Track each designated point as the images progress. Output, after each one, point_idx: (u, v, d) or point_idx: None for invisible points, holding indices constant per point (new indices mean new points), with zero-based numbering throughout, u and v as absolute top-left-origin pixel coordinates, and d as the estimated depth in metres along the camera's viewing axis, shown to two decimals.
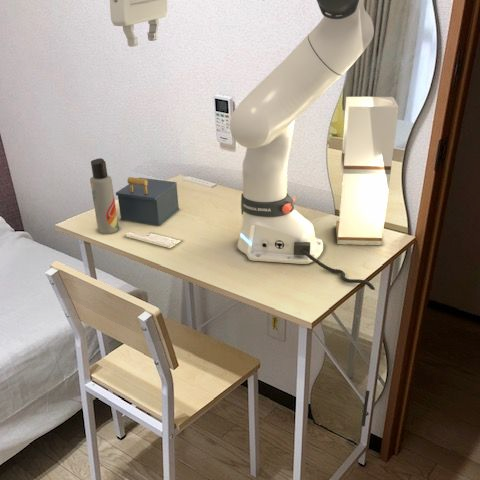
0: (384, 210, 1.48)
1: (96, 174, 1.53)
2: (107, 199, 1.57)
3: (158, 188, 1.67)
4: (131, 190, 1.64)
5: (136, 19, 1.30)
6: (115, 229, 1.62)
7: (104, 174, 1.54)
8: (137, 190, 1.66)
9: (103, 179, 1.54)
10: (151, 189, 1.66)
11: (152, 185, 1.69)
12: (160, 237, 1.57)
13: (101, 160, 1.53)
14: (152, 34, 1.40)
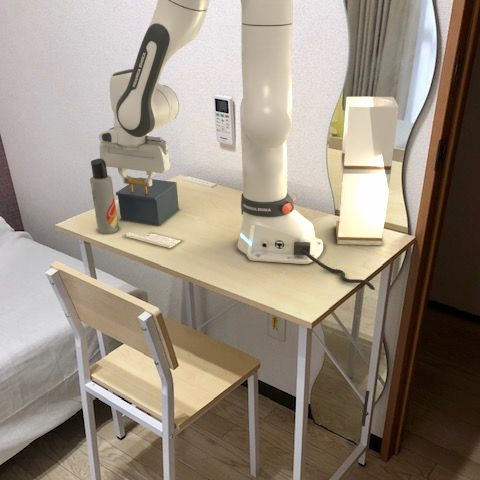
0: (384, 210, 1.47)
1: (96, 174, 1.53)
2: (107, 199, 1.57)
3: (158, 188, 1.67)
4: (131, 190, 1.64)
5: None
6: (115, 229, 1.62)
7: (104, 174, 1.54)
8: (137, 190, 1.66)
9: (103, 179, 1.54)
10: (151, 189, 1.66)
11: (152, 185, 1.69)
12: (160, 237, 1.57)
13: (101, 160, 1.53)
14: None
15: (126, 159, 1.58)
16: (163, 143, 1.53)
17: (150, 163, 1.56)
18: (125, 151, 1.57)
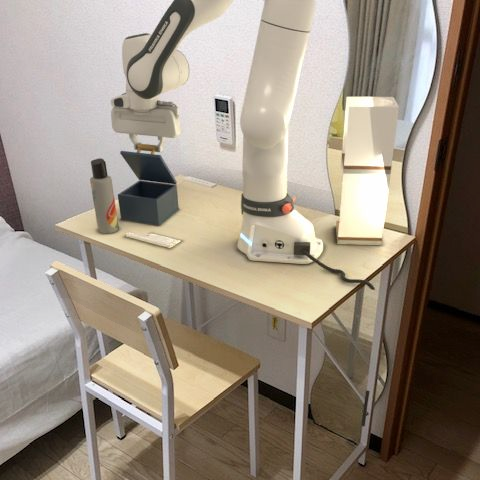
0: (384, 210, 1.48)
1: (96, 174, 1.53)
2: (107, 199, 1.57)
3: None
4: None
5: None
6: (115, 229, 1.62)
7: (104, 174, 1.54)
8: None
9: (103, 179, 1.54)
10: None
11: None
12: (160, 237, 1.57)
13: (101, 160, 1.53)
14: None
15: (137, 124, 1.60)
16: (174, 107, 1.55)
17: (161, 128, 1.58)
18: (137, 116, 1.59)
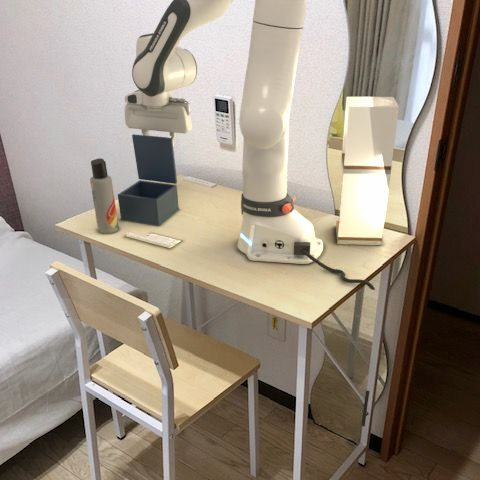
0: (384, 210, 1.48)
1: (96, 174, 1.53)
2: (107, 199, 1.57)
3: None
4: None
5: None
6: (115, 229, 1.62)
7: (104, 174, 1.54)
8: None
9: (103, 179, 1.54)
10: None
11: None
12: (160, 237, 1.57)
13: (101, 160, 1.53)
14: None
15: (150, 120, 1.66)
16: (186, 104, 1.61)
17: (173, 124, 1.64)
18: (150, 112, 1.65)
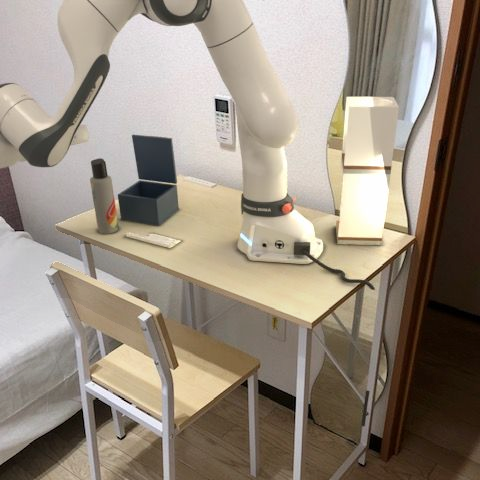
0: (384, 210, 1.48)
1: (96, 174, 1.53)
2: (107, 199, 1.57)
3: None
4: None
5: None
6: (115, 229, 1.62)
7: (104, 174, 1.54)
8: None
9: (103, 179, 1.54)
10: None
11: None
12: (160, 237, 1.57)
13: (101, 160, 1.53)
14: None
15: None
16: None
17: None
18: None
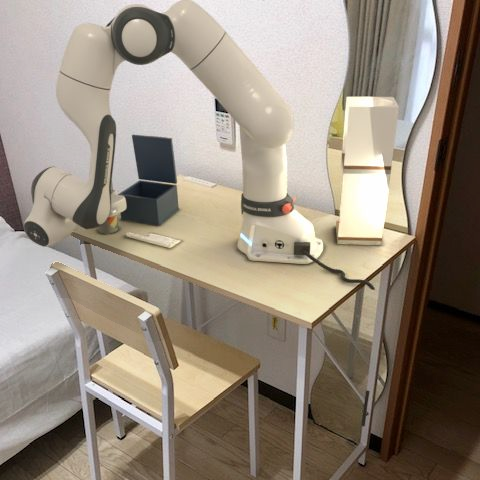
0: (384, 210, 1.48)
1: None
2: None
3: None
4: None
5: None
6: (115, 229, 1.62)
7: None
8: None
9: None
10: None
11: None
12: (160, 237, 1.57)
13: None
14: None
15: None
16: None
17: None
18: None
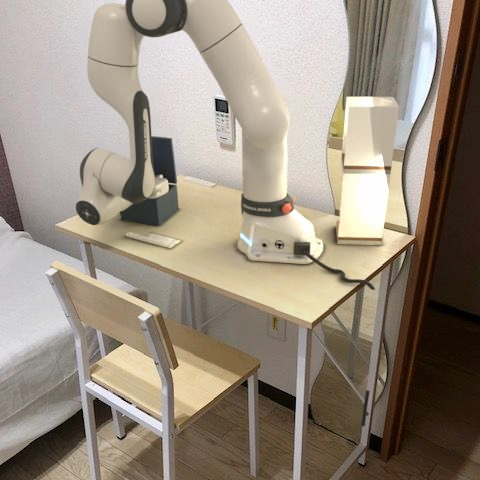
0: (384, 210, 1.48)
1: None
2: None
3: None
4: None
5: None
6: None
7: None
8: None
9: None
10: None
11: None
12: (160, 237, 1.57)
13: None
14: None
15: None
16: None
17: None
18: None
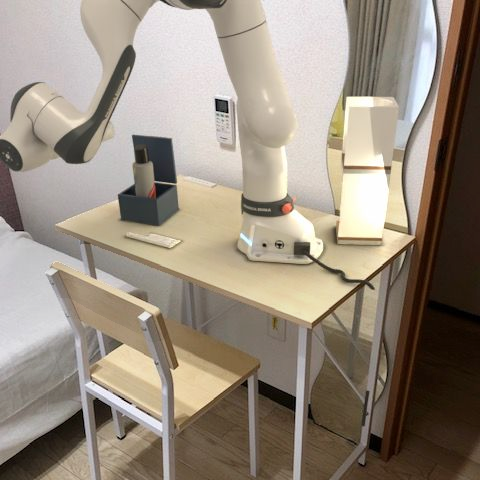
0: (384, 210, 1.48)
1: (138, 159, 1.61)
2: (148, 183, 1.64)
3: None
4: None
5: None
6: None
7: (146, 159, 1.61)
8: None
9: (145, 164, 1.62)
10: None
11: None
12: (160, 237, 1.57)
13: (143, 146, 1.61)
14: None
15: None
16: None
17: None
18: None
